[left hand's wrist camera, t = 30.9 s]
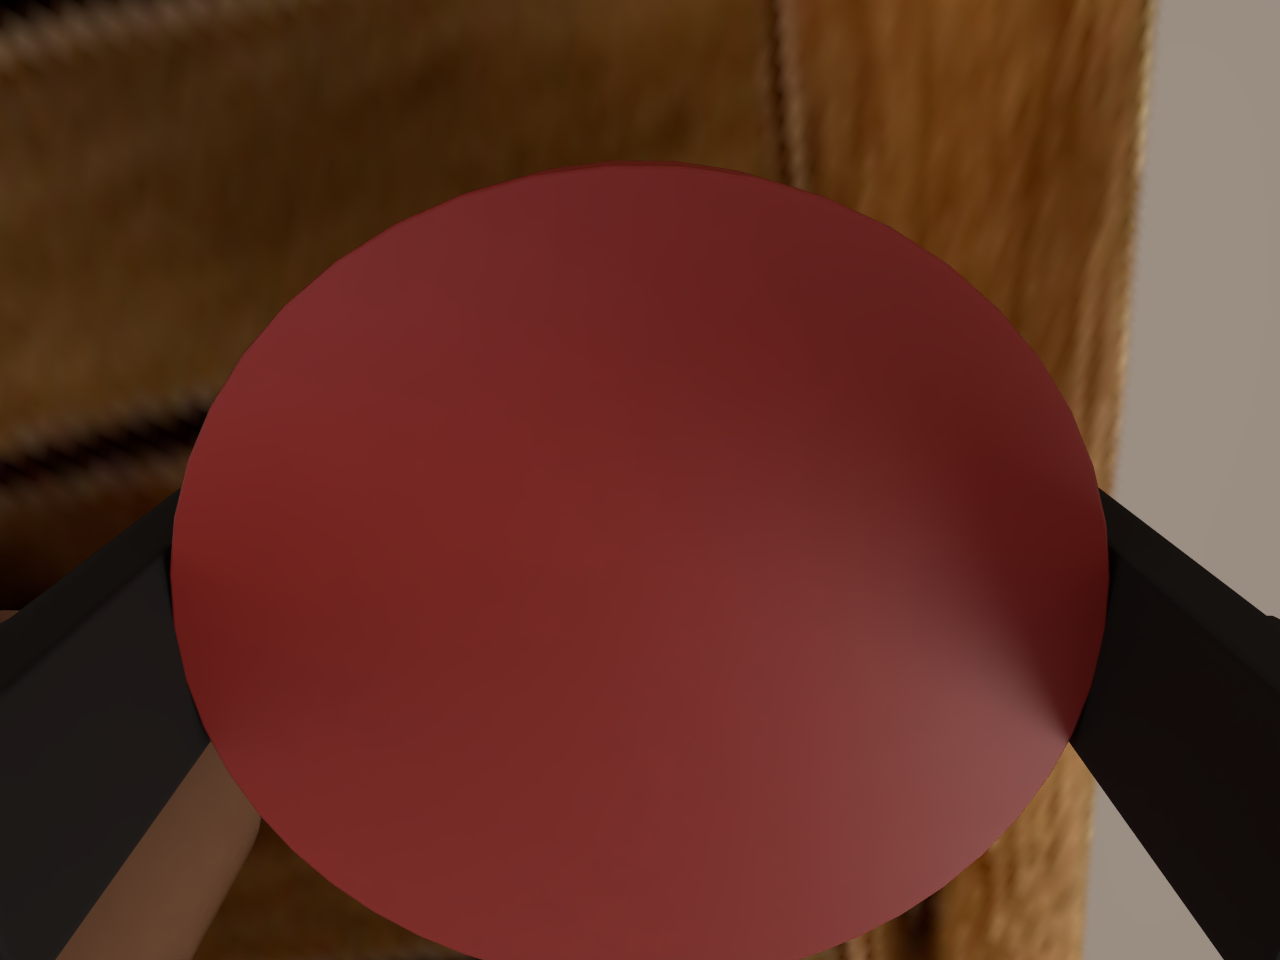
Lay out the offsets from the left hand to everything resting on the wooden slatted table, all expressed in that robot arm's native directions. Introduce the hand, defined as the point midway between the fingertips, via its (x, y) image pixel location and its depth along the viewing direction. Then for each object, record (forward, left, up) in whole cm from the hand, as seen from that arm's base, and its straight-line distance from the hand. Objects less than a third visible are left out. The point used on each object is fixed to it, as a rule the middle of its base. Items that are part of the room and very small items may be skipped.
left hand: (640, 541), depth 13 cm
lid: (0, 0, +3) cm, 3 cm away
